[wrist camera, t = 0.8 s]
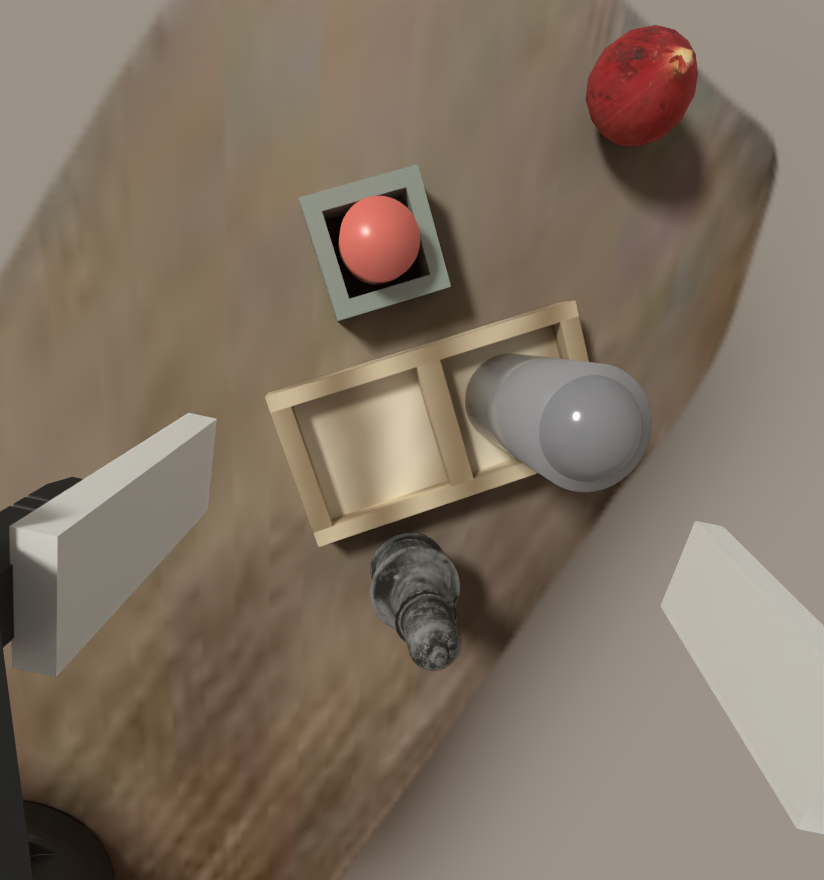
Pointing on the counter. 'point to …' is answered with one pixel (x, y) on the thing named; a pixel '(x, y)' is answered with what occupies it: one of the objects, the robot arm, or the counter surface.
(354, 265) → the button
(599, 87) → the onion
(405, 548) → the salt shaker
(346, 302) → the grey-green square box
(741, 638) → the robot arm
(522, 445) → the pepper pot
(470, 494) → the tray
